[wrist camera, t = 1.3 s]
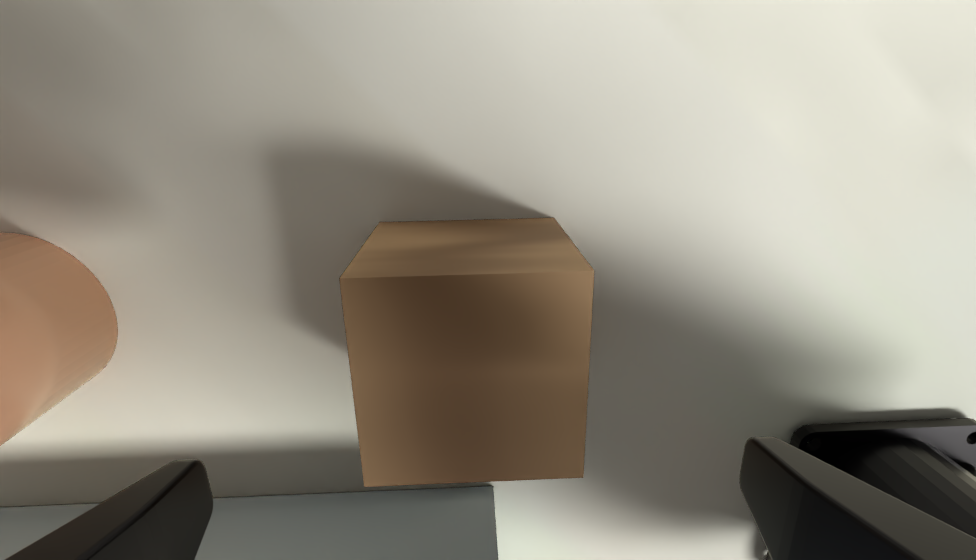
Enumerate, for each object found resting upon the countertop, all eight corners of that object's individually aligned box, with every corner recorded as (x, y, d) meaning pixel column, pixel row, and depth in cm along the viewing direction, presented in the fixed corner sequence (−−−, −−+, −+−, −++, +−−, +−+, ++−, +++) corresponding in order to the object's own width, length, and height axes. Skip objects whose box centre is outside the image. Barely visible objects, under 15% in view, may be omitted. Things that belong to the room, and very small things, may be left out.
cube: (553, 217, 15) (594, 270, 10) (549, 370, 16) (583, 477, 12) (380, 221, 15) (339, 278, 10) (393, 375, 16) (364, 486, 12)
